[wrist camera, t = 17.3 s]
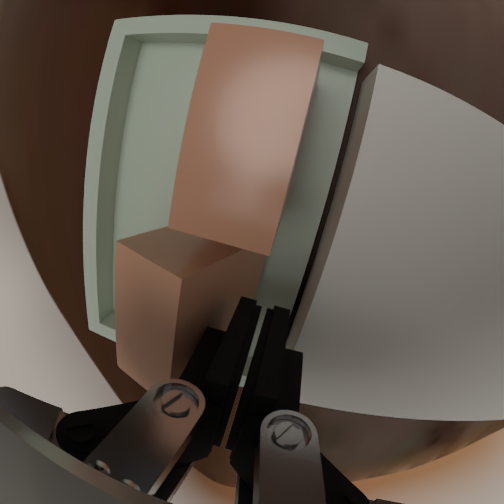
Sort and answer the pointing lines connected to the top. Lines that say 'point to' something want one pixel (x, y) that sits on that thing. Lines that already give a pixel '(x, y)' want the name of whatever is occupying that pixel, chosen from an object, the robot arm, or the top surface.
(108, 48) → the tray
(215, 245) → the far tile
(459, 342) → the white slab
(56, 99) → the top surface
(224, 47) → the near tile
